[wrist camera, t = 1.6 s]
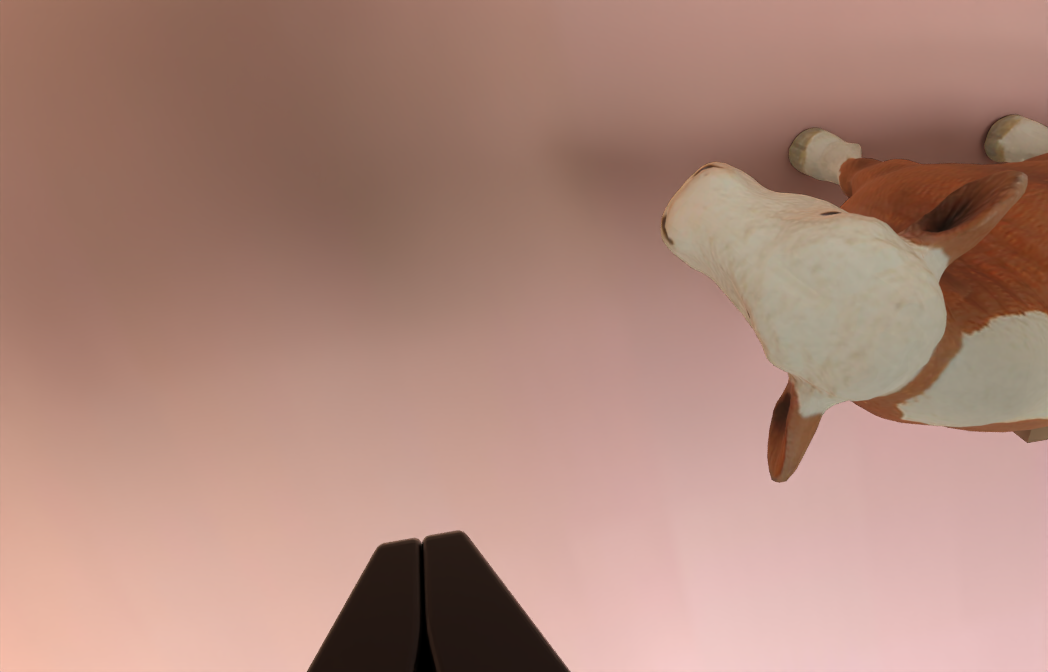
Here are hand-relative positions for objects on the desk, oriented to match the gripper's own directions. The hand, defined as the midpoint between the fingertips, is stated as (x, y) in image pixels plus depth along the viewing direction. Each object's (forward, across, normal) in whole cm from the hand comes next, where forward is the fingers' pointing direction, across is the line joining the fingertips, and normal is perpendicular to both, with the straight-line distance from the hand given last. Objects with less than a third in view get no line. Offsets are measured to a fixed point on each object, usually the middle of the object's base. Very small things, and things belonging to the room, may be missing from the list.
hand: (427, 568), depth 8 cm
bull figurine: (+9, -10, 0) cm, 13 cm away
